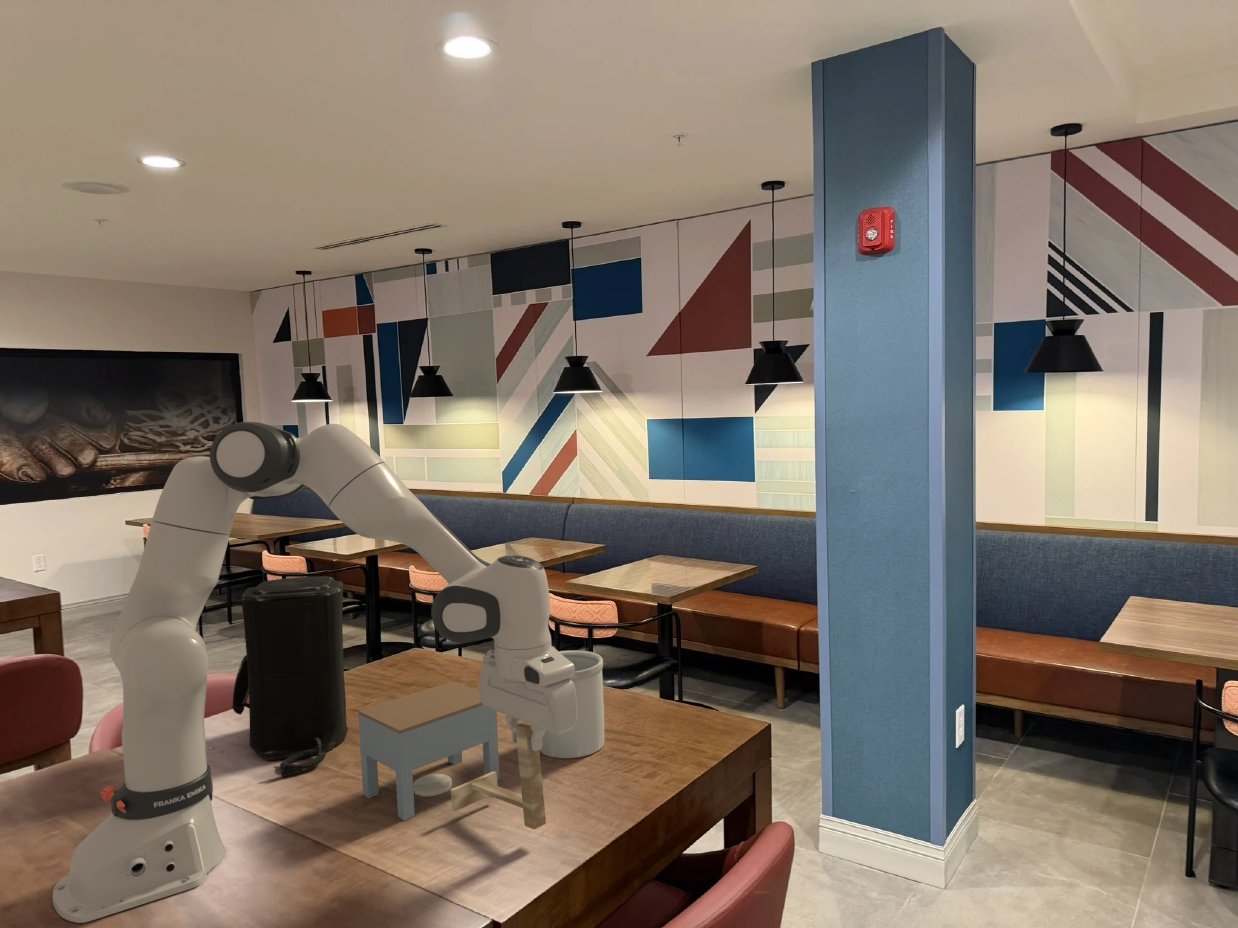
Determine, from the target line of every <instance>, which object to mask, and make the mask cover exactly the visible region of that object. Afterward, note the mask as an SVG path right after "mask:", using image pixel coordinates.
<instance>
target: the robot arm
mask: <svg viewBox="0 0 1238 928" xmlns="http://www.w3.org/2000/svg"><path fill="white" fill-rule="evenodd" d="M305 487H308V488H309V489H311V490H312V491H313V492H315V494H316V495H317V496H319V498H320V499H321V500H322V502H324V504H325V505H326V506H327V507H328V508H329V509H330V510H331V512H332V513H333V514H334V515H335V516H336V517H337V519H339V521H341V522H342V524H343V525H345V526H347V527H348V528H349V529H350V530H351V531H353V532H355V534H357V535H359V536H360V537H362V538H366V539H373V540H382V541H383V540H384V541H389V542H395V543H398V544H401V545H404V546H406V547H409V548H410V549H412V550H414V551H415V552H417V553H418V554H419V555H420V556H421V557H422V558H423V559H424V560H425V561H426V562H427V563H428V565H430V566H431V567H432V568H433V569H434V570H435V571H436V572H437V573H438V574H439V575H440V576H441V577H442V578H443V579H444V580H446V582H447V583H448V584H447V585H446V586H445V587H443V588H442V589H441V590H440V591H439V592H438V593H437V594H436V596H435V597H434V599H433V601H432V605H431V608H430V609H431V612H430V614H431V615H430V616H431V621H432V623H433V625H434V626H433V627H434V628H435V630H436V631H437V632H438V633H439V634H440V636H442V637H443V638H444V639H446V640H447V641H450V642H453V643H457V644H462V643H463V644H465V643H472V642H478V641H483V640H487V639H489V638H491V639H493V640H494V649H489V650H488V651H486V652H485V653H484V655H483V658H482V666H481V669H480V673H479V674H480V675H479V690H478V691H479V696H480V700H481V703H482V705H483V706H485V707H488V708H490V709H493V710H495V711H497V713H501V714H503V715H505V720H506V724H507V726H508V727H509V730H510V732H511V742H512V743H514V744H517V739H516V728H515V725H517V724H520V723H522V722H526V723H529V724H531V730H533V734H532V737H530V738H528V748H529V749H531V750H533V751H538V750H540V749H541V748H542V738H543V736H544V734H545V732H546V730H547V731H549V732H552V733H554V734H557V735H559V734H562V733H565V732H567V731H569V730H571V729H573V728H574V726H575V724H576V722H577V701H576V691H575V686H574V684H573V682H572V681H571V679H569V678H570V677H573V676H574V674H575V667H574V664H573V663H572V662H571V661H569V660H568V659H567V658H565V657H564V656H563V655H562V654H560V653H559V652H560V651H558V650H557V649H556V647H555V646H553V645H552V635H551V632H550V628H549V619H550V616H551V599H550V592H549V591H550V589H549V582H548V577H547V573H546V570H545V568H544V566H543V565H542V563H540V562H539V561H538V560H536V559H533V558H532V557H528V556H524V555H523V556H522V555H503V556H500V557H498V558H496V559H495V561H494V562H493V561H492V563H489V562H488V561H485V560H483V559H481V558H480V557H479V556H478V555H476V554H475V553H474V552H473V551H472V550H470V549H469V548H468V546H466V544H465V543H463V541H461V539H459V538H458V537H457V536H456V535H455V534H454V532H452V531H451V530H450V529H449V528H448V527H447V526H446V524H444V522H442V521H441V520H440V518H438V517H437V516H436V515H435V514H434V513H433V512H432V511H430V510H429V508H427V506H425V505H424V504H423V503H422V501H420V499H419V498H417V496H415V494H414V493H413V492H412V491H411V490H410V489H409V488H408V487H407V486H406V484H405V483H404V482H403V481H402V480H401V478H399V476H398V475H397V474H396V473H395V472H394V471H393V469H391V467H390V466H389V465H388V464H387V463H386V461H384V460H383V459H382V457H381V456H380V455H379V454H377V452H376V451H374V449H373V448H372V447H371V446H369V445H368V444H367V443H366V442H365V441H364V440H363V439H361V438H360V437H359V436H357V434H355V433H354V432H353V431H351V430H350V429H348V427H346V426H344V425H342V424H337V423H329V424H328V423H327V424H324V425H321V426H319V427H316V428H314V429H313V430H312V431H310V432H309V433H308V434H306V435H305V436H302V437H297V436H296V435H295V434H293V433H291V432H290V431H287V430H285V429H282V428H279V427H277V426H273V425H269V424H266V423H264V422H263V423H262V422H256V421H241V422H237V423H234V424H231V425H229V426H227V427H225V428H224V429H223V430H221V431H220V432H219V433H218V434H217V435H216V437H215V438H214V440H213V441H212V444H211V446H210V451H209V456H202V455H201V456H191V457H187V458H184V459H181V460H180V461H178V463H176V464H175V465H174V466H173V468H172V471H171V472H170V474H169V476H168V478H167V480H166V482H165V484H164V487H163V489H162V491H161V493H160V495H159V498H158V501H157V504H156V506H155V511H154V513H153V516H152V520H151V523H150V527H149V529H148V530H149V531H148V533H147V537H146V541H145V545H144V548H143V552H142V556H141V560H140V562H139V565H138V569H137V572H136V575H135V578H134V580H133V582H132V585H131V587H130V589H129V590H128V591H129V592H128V593H127V597H126V599H125V601H124V604H123V606H122V609H121V611H120V615H119V617H118V619H117V623H116V625H115V628H114V631H113V634H112V635H111V636H112V637H111V639H110V646H109V653H110V657H111V661H112V662H113V663H114V664H113V665H115V667H116V668H117V670H118V672H119V675H120V678H121V681H122V695H123V699H122V700H123V702H122V703H123V706H122V707H123V710H122V712H123V713H122V731H121V743H122V747H121V748H122V757H123V771H124V783H123V784H122V785H121V786H120V787H119V789H116V787H114V785H107V786H105V787H104V788H102V790H101V792H100V796H101V799H103V801H104V802H106V803H107V804H109V803H110V808H111V813H110V814H109V815H108V816H107V817H106V818H105V819H104V820H103V821H102V822H101V823H100V824H99V825H97V827H96V828H95V829H93V830H92V831H91V832H90V833H89V834H88V835H87V836H86V837H85V838H84V839H83V840H82V841H80V842H79V844H78V845H77V846H76V848H75V849H74V852H73V855H72V857H71V862H70V869H69V870H70V871H69V875H67V876H65V877H62V878H61V879H60V880H58V882H57V883H56V884H55V885H54V887H53V889H52V905H53V908H54V909H55V911H56V912H57V915H59V916H60V917H61V918H63V919H64V920H66V921H68V922H73V923H78V924H85V923H88V922H92V921H95V920H98V919H101V918H105V917H107V916H109V915H112V914H116V913H120V912H122V911H125V910H129V909H132V908H135V907H139V906H141V905H145V904H147V903H151V902H154V901H157V900H160V899H163V898H167V897H169V896H173V895H175V894H179V893H182V892H184V891H188V890H191V889H193V888H196V887H198V886H200V885H201V884H202V883H203V881H205V877H206V876H207V874H208V873H209V872H210V871H211V870H212V869H214V868H215V867H216V866H217V865H218V864H219V863H220V862H221V861H222V859H223V858H224V856H225V852H226V849H225V848H226V847H225V845H224V843H223V842H222V839H221V836H220V833H219V831H218V828H217V823H216V820H215V816H214V815H215V813H214V812H213V805H212V801H213V793H214V784H213V774H212V772H211V766H210V765H209V764H208V760H207V758H208V757H207V745H206V744H207V743H206V731H205V730H206V727H205V708H206V697H207V686H208V685H207V684H208V670H209V664H210V663H209V653H208V649H207V645H206V643H205V640H204V639H203V637H202V636H201V635H200V634H199V633H198V632H197V631H196V630H197V625H198V622H199V619H200V616H201V615H202V613H203V610H204V607H205V605H206V604H207V601H208V599H209V598H210V595H211V593H212V591H213V590H214V588H215V587H216V586H217V584H218V582H219V578H220V575H221V570H222V566H223V563H224V559H225V555H226V551H227V548H228V543H229V540H230V537H231V532H232V529H233V524H234V520H235V516H236V514H237V512H238V509H239V507H240V506H241V504H242V503H243V502H244V501H246V500H248V499H250V500H262V499H275V498H276V499H277V498H278V499H279V498H283V497H284V498H285V497H287V496H291V495H293V494H296V493H297V492H299V491H301V490H302V489H304V488H305Z"/></svg>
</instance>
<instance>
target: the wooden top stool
mask: <svg viewBox="0 0 1238 928" xmlns="http://www.w3.org/2000/svg"><path fill="white" fill-rule="evenodd" d="M497 713H498V711H495V710H493V709H490V708H488V707H485V706H483V705H482V703H481V700H480V696H479V690H477V689H474V688H471V687H468V686H466V685H463V684H462V683H461V684H460V683H458V682H456V681H450V682H446V683H443V684H440V685H437V686H433V687H430V688H428V689H423V690H421V691H417V692H413V693H412V694H408V695H405V696H402V697H399V698H395V699H392V700H389V701H385V702H382V703H378V704H377V705H376V704H375V705H373V706H369V707H366V708H363V709H359V710H358V723H359V724H358V725H359V729H358V730H359V744H360V760H361V761H360V762H361V777H362V781H361V782H362V796H364V797H366V798H367V799H371V798H374V797H375V796H378V795H380V792H379V791H380V790H379V789H380V788H379V770H378V763H380V764H382V765H383V766H385V767H388V768H389V769H391V770H393V771H395V781H396V782H395V783H396V784H395V785H396V802H397V803H396V805H397V817H398V818H399V819H401V820H403V821H407V820H409V819H411V818H414V817H415V816H416V815H415V797H414V794H415V793H414V792H413V783H414V777H413V776H414V774H413V773H414V772H413V771H415V770H417V769H420V768H423V767H425V766H428V765H431V764H433V763H436V762H438V761H441V760H443V759H446V758H447V763H449V764H451V765H457V764H458V763H462V762H463V752H464V751H467V750H469V749H472V748H474V747H477V746H480V745H482V756H483V776H484V775H486V774H488V773H491V772H493V771H495V772H497V781H499V780H501V779H500V757H499V739H498V738H499V737H498V736H499V735H498V717H497Z"/></svg>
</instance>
